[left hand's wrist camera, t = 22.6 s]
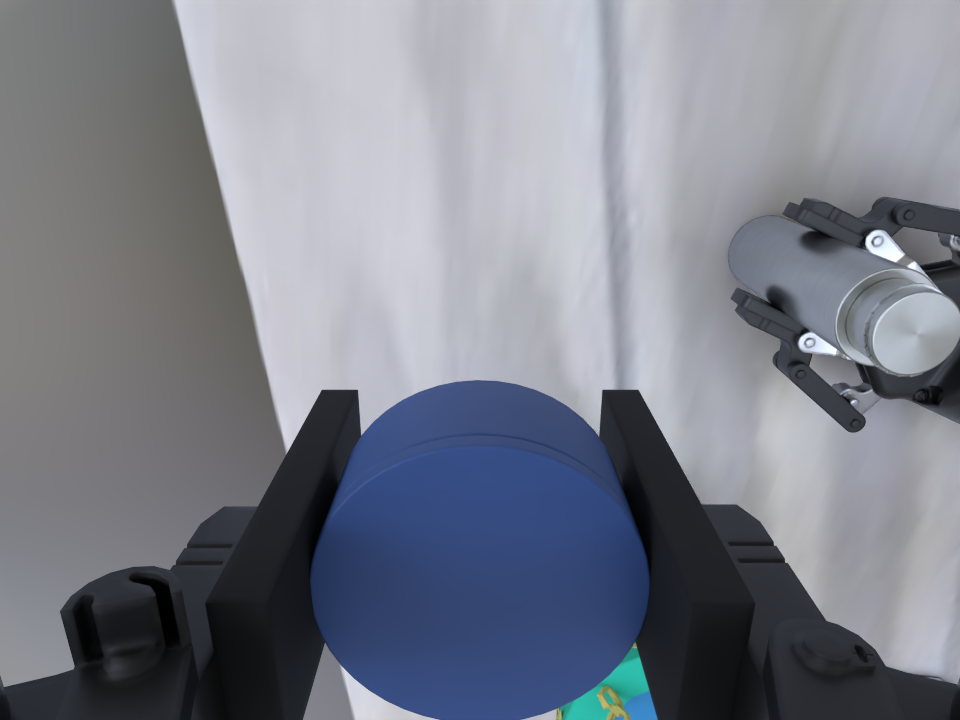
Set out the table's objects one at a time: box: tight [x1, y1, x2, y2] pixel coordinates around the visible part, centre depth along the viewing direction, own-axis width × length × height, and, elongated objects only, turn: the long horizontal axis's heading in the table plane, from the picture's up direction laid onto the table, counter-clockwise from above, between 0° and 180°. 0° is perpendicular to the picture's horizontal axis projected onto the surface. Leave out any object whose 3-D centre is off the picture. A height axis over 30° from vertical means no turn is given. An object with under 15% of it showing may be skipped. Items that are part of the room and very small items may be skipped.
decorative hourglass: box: [557, 642, 658, 720], centre depth 36 cm, size 11×11×30 cm
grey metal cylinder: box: [728, 216, 960, 377], centre depth 35 cm, size 5×5×16 cm
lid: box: [310, 380, 650, 720], centre depth 11 cm, size 5×5×2 cm
